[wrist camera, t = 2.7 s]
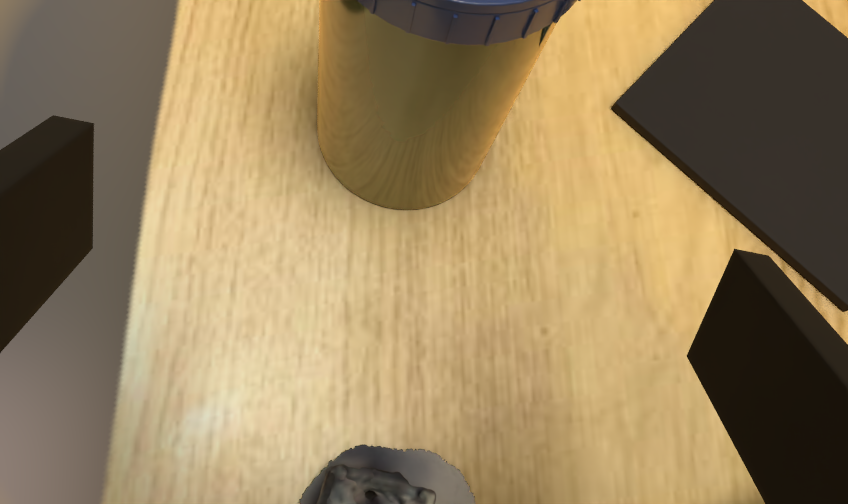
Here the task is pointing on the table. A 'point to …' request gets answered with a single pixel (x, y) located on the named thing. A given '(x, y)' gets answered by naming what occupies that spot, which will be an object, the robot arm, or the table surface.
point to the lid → (469, 18)
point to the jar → (410, 105)
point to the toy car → (388, 479)
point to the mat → (760, 126)
